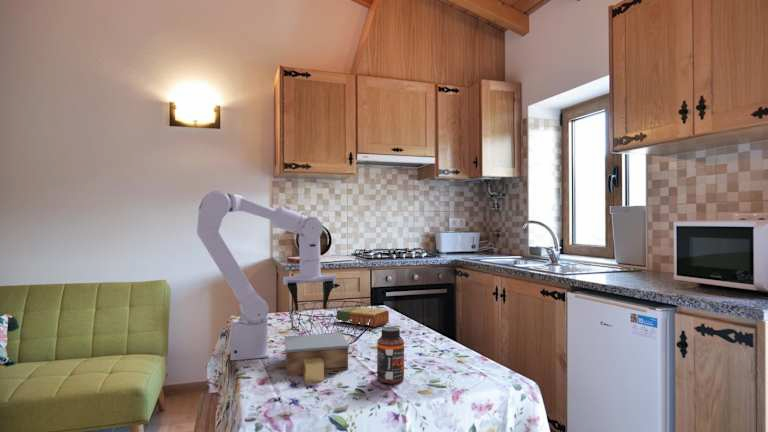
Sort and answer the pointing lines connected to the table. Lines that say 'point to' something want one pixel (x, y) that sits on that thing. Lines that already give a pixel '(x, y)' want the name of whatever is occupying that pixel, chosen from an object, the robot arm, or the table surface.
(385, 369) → the supplement bottle
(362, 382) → the table surface
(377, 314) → the carton
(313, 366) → the block
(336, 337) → the lid
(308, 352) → the box
